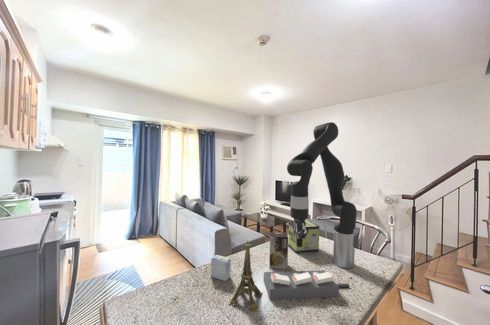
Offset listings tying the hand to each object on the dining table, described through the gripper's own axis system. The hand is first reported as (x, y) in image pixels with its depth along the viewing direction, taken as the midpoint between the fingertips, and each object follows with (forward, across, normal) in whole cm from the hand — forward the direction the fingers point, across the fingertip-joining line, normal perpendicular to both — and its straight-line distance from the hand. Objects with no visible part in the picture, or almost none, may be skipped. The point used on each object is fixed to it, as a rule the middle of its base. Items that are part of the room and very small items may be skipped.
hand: (299, 246), depth 87 cm
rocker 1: (+11, -4, +10) cm, 15 cm away
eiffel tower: (+16, -6, +24) cm, 30 cm away
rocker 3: (+12, -5, -8) cm, 15 cm away
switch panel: (+17, -2, -3) cm, 17 cm away
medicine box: (+16, +9, +34) cm, 38 cm away
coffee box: (+17, +17, +4) cm, 25 cm away
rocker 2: (+11, -5, +1) cm, 12 cm away
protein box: (+18, +35, -17) cm, 43 cm away
